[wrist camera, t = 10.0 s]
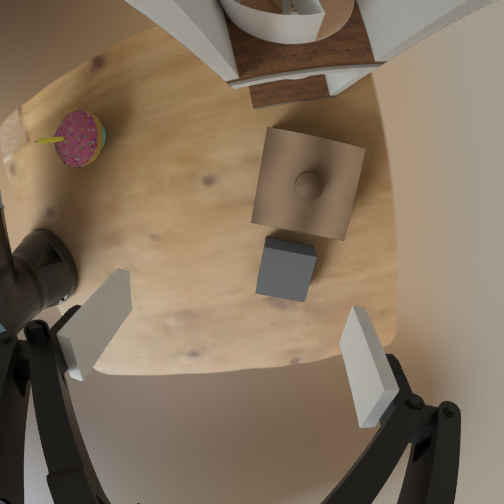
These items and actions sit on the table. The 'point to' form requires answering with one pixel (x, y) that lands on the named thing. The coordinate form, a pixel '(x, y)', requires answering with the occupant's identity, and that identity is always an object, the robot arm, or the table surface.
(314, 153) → the lid
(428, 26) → the white stacked pedestal
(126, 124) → the table surface
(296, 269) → the block
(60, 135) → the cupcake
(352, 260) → the table surface
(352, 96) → the table surface
